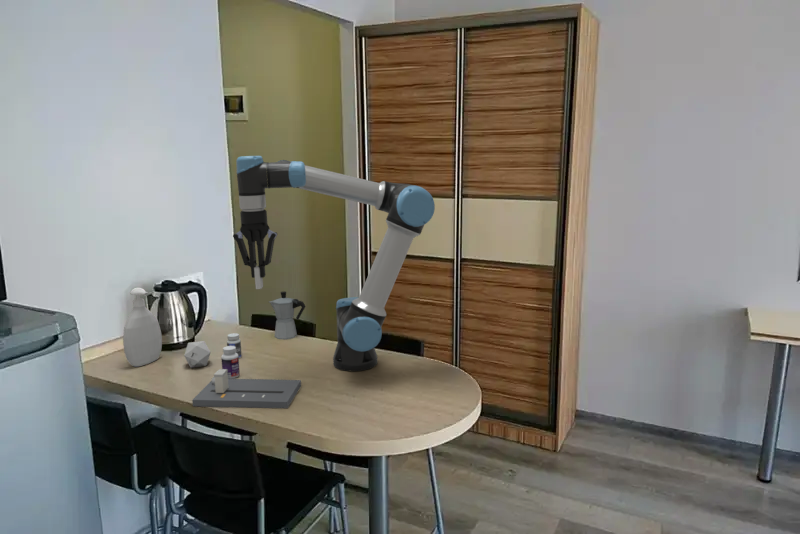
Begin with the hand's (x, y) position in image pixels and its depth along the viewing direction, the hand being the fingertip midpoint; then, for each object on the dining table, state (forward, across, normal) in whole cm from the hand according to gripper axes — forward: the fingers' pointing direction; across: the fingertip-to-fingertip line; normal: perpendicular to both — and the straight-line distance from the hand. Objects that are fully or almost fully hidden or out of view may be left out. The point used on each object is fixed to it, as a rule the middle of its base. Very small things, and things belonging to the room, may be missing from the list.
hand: (259, 287), depth 178 cm
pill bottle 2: (+32, +14, -9) cm, 36 cm away
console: (+32, +4, +6) cm, 33 cm away
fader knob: (+29, +11, +8) cm, 32 cm away
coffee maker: (+32, +6, -50) cm, 60 cm away
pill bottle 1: (+32, +19, -26) cm, 45 cm away
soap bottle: (+32, +48, -20) cm, 61 cm away
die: (+32, +29, -18) cm, 47 cm away
